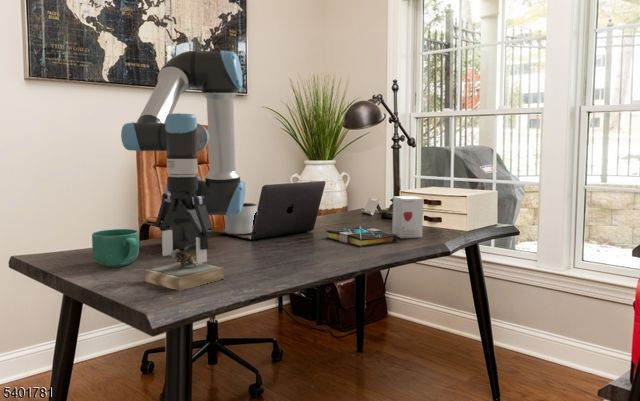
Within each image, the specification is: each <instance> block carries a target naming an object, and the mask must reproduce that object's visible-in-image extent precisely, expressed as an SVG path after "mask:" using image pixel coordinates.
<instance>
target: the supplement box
mask: <svg viewBox="0 0 640 401" xmlns="http://www.w3.org/2000/svg"><path fill="white" fill-rule="evenodd" d="M423 216H424V198H422V197H419V196H416V195H415V196H414V195H411V196H409V195H408V196H407V195H405V196H403V195H401V196H393V199H392V223H391V224H392V228H391V234H398V236H397V237H398V238H400V239H413V238H415V239H416V238H423V222H424V221H423V220H424V217H423Z"/></svg>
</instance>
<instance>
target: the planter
mask: <svg viewBox="0 0 640 401" xmlns="http://www.w3.org/2000/svg"><path fill="white" fill-rule="evenodd" d="M256 212H257V213H258V204H256V203H251V202H244V204H243V208H242V210H241V212H240V213H239V214H237V215H228V216H226V215H224V216H225V217H224V231H225V233H227V235H231V234H246V233H251V232H252V226H253V220H254V215H255V213H256Z"/></svg>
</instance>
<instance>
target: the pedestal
mask: <svg viewBox="0 0 640 401" xmlns="http://www.w3.org/2000/svg"><path fill="white" fill-rule="evenodd" d="M196 263H197V262H196ZM224 272H225V269H224V267H221V266H216V265H211V264H207V263H204V262H202V263H197V267H196V266H195V265H193V264H191V263H188V262H186V264H185V267H183V269H182V270H181V263H180V262H175V263H171V264H167V265H162V266H157V267H156V266H155V267H153V268H146V269H144V282H146V283H148V284H149V283H150V284H153V285H156V286H160V287H163V288H168V289H171V290H174V289H175V290H174V291H179V292H182V291H185V289H186V290H188V289H189V290H190V289H192V288H197V287H199V286H200V285H201V286H204V285H208V284H210V282H212V283H215V282H214V281H216V282H219V281H222V280H221V279H223V280H224V279H225V278H224V277H225V275H224V274H225V273H224ZM218 280H219V281H218ZM207 283H208V284H207ZM203 284H204V285H203ZM196 286H197V287H196ZM181 290H182V291H181Z"/></svg>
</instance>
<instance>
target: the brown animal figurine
mask: <svg viewBox="0 0 640 401" xmlns="http://www.w3.org/2000/svg"><path fill="white" fill-rule="evenodd" d="M195 256H196V241H194V242H192V243H189V244H187V245H186V246H185V249H183V251H181V249H173V251H172V252H171V255H170V257H171V258H172V259H173V260H175V259H177V260H176V263H181V270H182V269H183V267H185V264H186V262H188V263H191V264H193V265H195V266H196V267H197V263H196V259H195V258H194V257H195Z"/></svg>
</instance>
